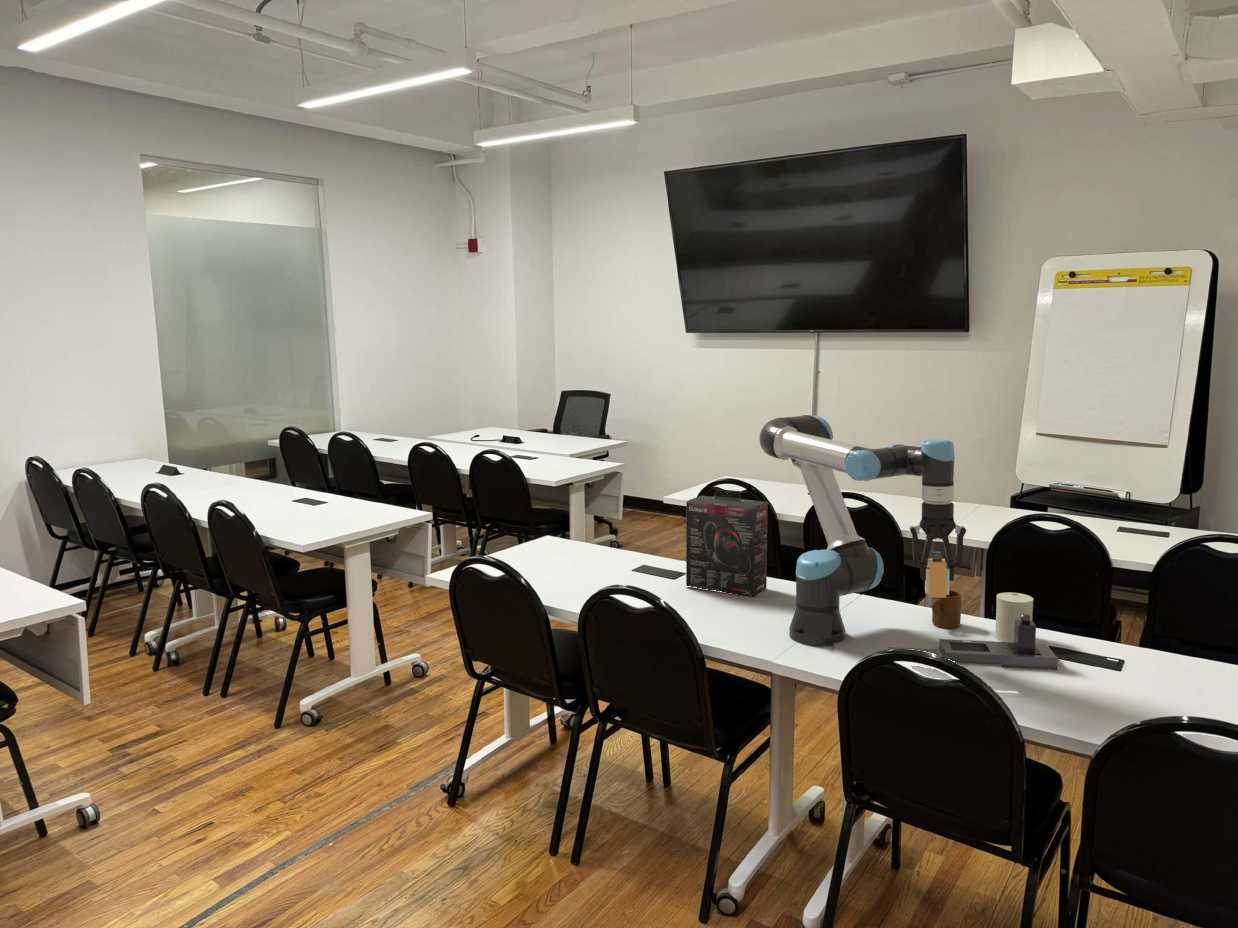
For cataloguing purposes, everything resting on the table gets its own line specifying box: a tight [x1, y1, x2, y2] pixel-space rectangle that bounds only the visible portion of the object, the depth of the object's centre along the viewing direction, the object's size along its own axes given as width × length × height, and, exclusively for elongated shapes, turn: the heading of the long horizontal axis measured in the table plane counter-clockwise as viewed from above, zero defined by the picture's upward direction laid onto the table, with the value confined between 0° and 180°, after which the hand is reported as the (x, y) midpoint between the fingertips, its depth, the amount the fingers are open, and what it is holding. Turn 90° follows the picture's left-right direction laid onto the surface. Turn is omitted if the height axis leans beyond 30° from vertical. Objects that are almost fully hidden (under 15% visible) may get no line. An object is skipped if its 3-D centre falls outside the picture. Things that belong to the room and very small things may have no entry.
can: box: [994, 591, 1034, 642], centre depth 232 cm, size 9×9×12 cm
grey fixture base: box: [938, 614, 1059, 671], centre depth 217 cm, size 26×10×12 cm, turn 79°
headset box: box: [685, 488, 769, 598], centre depth 282 cm, size 25×12×33 cm, turn 60°
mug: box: [931, 589, 962, 630], centre depth 243 cm, size 12×8×9 cm, turn 135°
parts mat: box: [887, 646, 939, 656], centre depth 221 cm, size 12×10×1 cm
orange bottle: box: [927, 551, 948, 598], centre depth 217 cm, size 4×4×11 cm
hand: (936, 592), depth 217 cm, fingers closed on orange bottle, 4 cm apart
